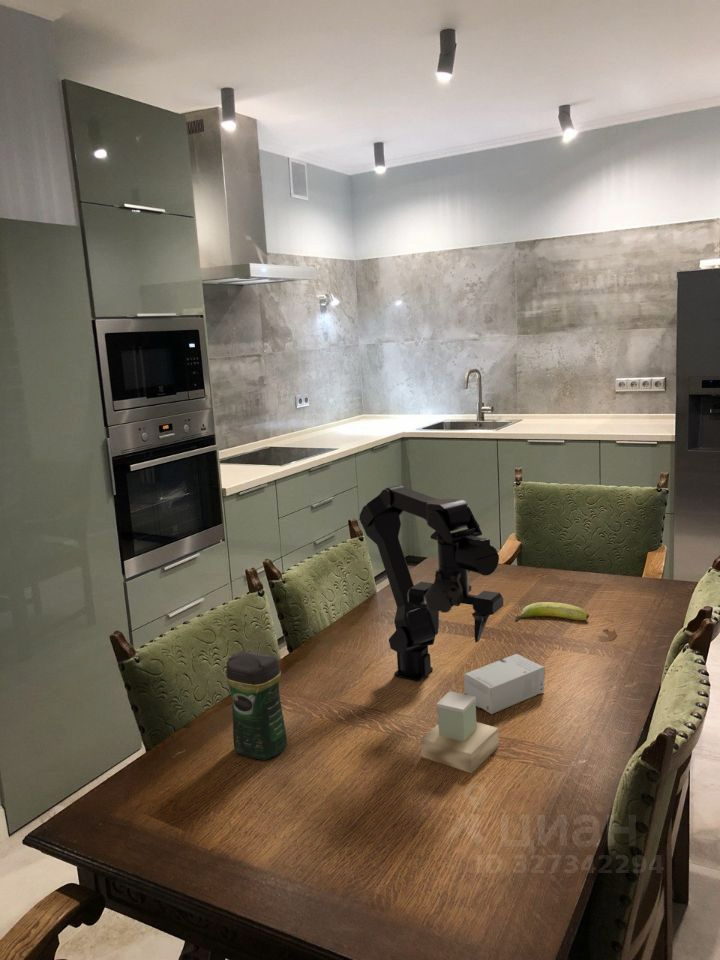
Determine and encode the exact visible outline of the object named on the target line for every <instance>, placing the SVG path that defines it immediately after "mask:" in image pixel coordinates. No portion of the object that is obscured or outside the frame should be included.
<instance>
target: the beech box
mask: <svg viewBox="0 0 720 960" xmlns="http://www.w3.org/2000/svg"><path fill="white" fill-rule="evenodd" d="M476 725H477V729H476V730H475V731H474V732H473V733H472V735H471V736H470V737H469V738H468V739H467V740H466V741H465V742H462V741H458V740H454V739H450V738H447V737H443V736H439V727H438V724H436V726H434V727H433V728H432V729H431V730H429V731H428V732H426V733H425V734H424V735H423V736H422V737H421V738H420V743H421V745H420V746H421V757H422V758H424V759H427V760H431V761H433V762H436V763H439V764H442V765H445V766H448V767H452V768H455V769H458V770H460V771H464V772H467V773H470V774H472V773H473V772H474V771H476V769H477V768H479V767H480V765H482V764H483V763H484V762H485V761H486V760H487V759H488V758H489V757H490V756H491V754H493V753H494V752H495V751H496V750H497V749H498V748H499V746H500V743H499V739H500V738H499V727H496V726H492V725H488V724H486V723H482V722H478V721H476Z"/></svg>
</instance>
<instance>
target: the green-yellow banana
mask: <svg viewBox="0 0 720 960" xmlns="http://www.w3.org/2000/svg"><path fill="white" fill-rule="evenodd" d="M527 601H528V602H529V601H530V599H529V600H525V602H527ZM513 602H514V603H515V602H517V600H516V601H515V600H513V601H512V603H513ZM541 617H543V618H544V617H546V618H547V617H548V618H549V617H550V618H561V619H567V620H568V619H569V620H573V621H577V622H582V621H588V619H589V617H590V615H589V613H588V612H587V610H585V609H584V608H581V607H579V606H577V605H573V604H569V603H565V602H554V601H551V602H550V601H548V602H547V601H541V602H540V601H539V602H534V603H533V602H532V603H531V604H528V605H527V606H524V608H523V609H522V611H521V614H519V615H517V616H516V617H515V620H516V621H521V620H522V619H525V618H526V619H527V618H541ZM605 620H606V621H607V622H610V623H614V620H612V619H610V618H605ZM611 629H612V627H610V628H604V629H602V633H604V634H605V635H597V636H596V638H598V639H597V640H598V641H599V642H600V643H602V642H603V643H604V642H610V641H613V640H615V638H616V637H617V635H618V634H617V632H616V628H614V629H613V630H611ZM563 630H566V628H564V629H563ZM606 635H607V636H606Z"/></svg>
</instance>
